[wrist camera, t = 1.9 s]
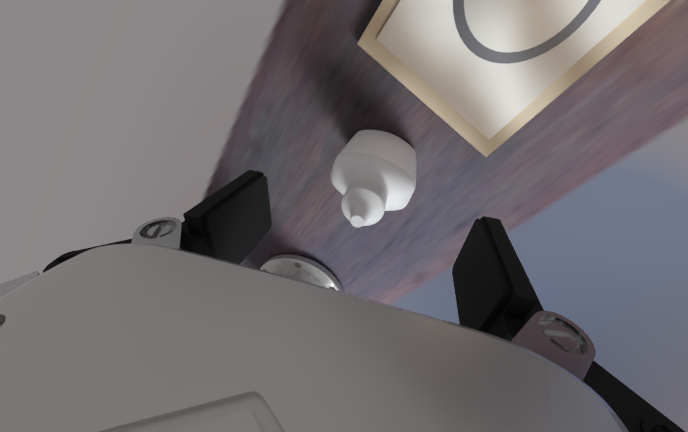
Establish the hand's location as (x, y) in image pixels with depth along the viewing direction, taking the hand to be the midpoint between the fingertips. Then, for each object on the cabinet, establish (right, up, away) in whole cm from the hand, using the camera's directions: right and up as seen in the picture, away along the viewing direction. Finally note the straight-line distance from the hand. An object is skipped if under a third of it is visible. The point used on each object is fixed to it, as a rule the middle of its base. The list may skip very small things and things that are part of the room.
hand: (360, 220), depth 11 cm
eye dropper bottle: (+3, +6, +11) cm, 13 cm away
